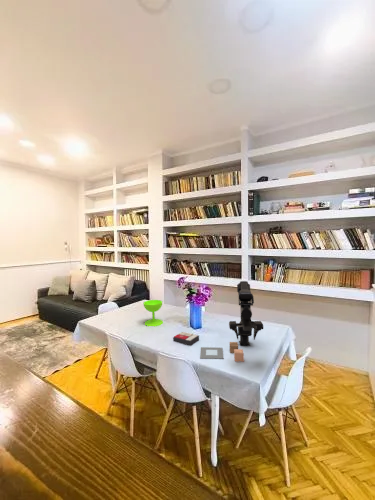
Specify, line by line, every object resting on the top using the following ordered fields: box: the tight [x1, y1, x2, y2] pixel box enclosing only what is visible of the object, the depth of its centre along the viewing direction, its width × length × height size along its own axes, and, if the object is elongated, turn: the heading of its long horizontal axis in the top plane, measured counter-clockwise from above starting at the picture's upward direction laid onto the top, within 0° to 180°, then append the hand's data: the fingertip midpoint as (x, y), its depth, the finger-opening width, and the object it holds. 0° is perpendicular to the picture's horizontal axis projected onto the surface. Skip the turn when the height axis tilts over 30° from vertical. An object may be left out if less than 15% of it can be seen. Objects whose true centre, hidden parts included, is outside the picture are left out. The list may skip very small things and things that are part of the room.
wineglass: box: [143, 299, 164, 327], centre depth 211 cm, size 16×16×18 cm
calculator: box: [172, 331, 200, 347], centre depth 175 cm, size 11×4×15 cm
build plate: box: [199, 346, 224, 360], centre depth 155 cm, size 14×14×1 cm
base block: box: [229, 341, 239, 354], centre depth 157 cm, size 5×5×5 cm
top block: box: [233, 348, 245, 362], centre depth 147 cm, size 5×5×5 cm
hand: (246, 339), depth 143 cm, fingers open, 9 cm apart
